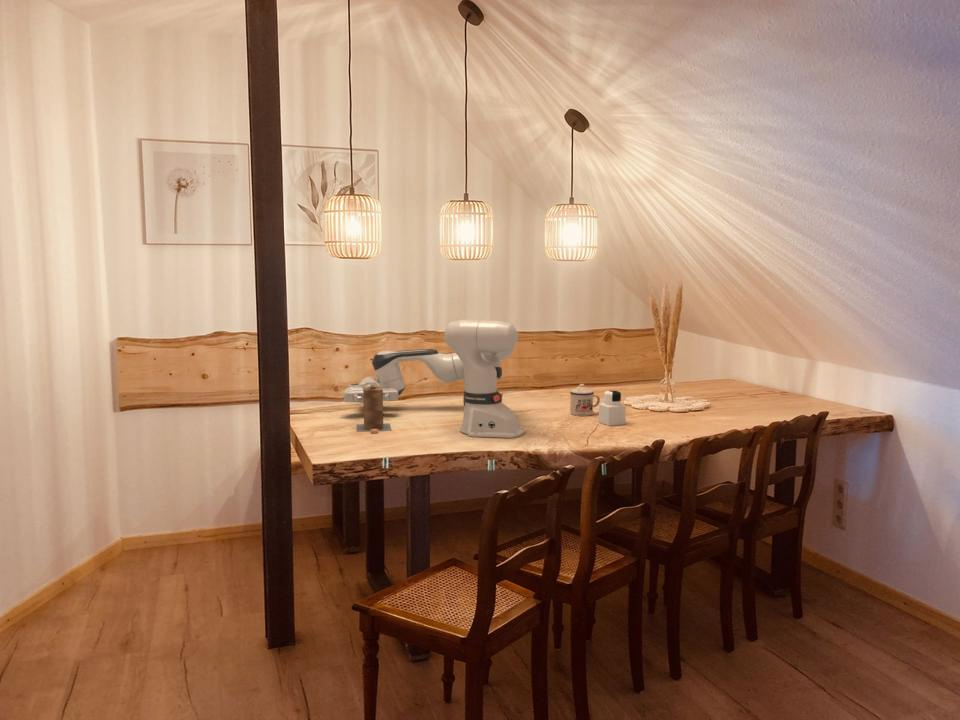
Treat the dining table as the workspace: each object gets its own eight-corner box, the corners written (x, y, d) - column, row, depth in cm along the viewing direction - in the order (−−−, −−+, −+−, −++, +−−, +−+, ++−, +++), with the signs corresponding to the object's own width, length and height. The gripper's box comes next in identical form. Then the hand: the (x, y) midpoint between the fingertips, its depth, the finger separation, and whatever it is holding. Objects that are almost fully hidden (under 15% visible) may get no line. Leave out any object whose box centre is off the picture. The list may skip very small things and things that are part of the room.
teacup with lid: (574, 416, 310) (575, 386, 308) (566, 412, 318) (566, 382, 317) (604, 415, 313) (604, 385, 311) (594, 410, 321) (595, 381, 320)
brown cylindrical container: (382, 425, 293) (381, 383, 291) (383, 429, 287) (382, 386, 284) (363, 425, 292) (363, 383, 290) (364, 429, 285) (363, 387, 283)
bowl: (379, 433, 282) (379, 428, 282) (376, 435, 279) (376, 430, 279) (372, 432, 283) (372, 428, 282) (369, 434, 280) (369, 429, 280)
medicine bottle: (615, 420, 303) (616, 389, 301) (625, 424, 296) (626, 392, 294) (598, 422, 300) (599, 390, 299) (608, 426, 294) (608, 393, 292)
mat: (389, 424, 296) (389, 423, 296) (391, 431, 284) (391, 430, 284) (356, 425, 294) (356, 424, 294) (356, 432, 282) (356, 431, 282)
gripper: (397, 399, 315) (400, 406, 302) (344, 401, 312) (344, 408, 298) (397, 383, 314) (400, 389, 301) (343, 385, 311) (344, 391, 297)
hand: (371, 399), depth 300 cm, fingers open, 8 cm apart
